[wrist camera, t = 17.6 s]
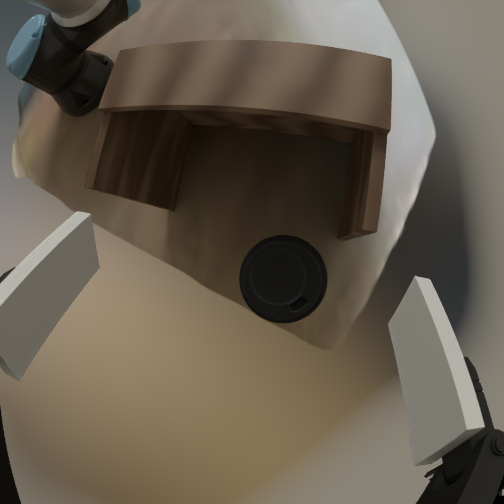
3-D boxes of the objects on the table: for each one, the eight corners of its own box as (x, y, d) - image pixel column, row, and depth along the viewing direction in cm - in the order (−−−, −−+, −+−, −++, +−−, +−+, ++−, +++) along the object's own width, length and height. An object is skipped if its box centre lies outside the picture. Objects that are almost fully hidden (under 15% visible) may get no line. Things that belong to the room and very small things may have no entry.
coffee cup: (304, 313, 45) (302, 342, 30) (248, 285, 47) (220, 301, 32) (332, 256, 44) (344, 259, 30) (274, 229, 46) (259, 218, 31)
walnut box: (167, 209, 49) (77, 185, 27) (188, 118, 48) (120, 50, 26) (345, 240, 44) (380, 231, 22) (359, 138, 43) (391, 58, 21)
